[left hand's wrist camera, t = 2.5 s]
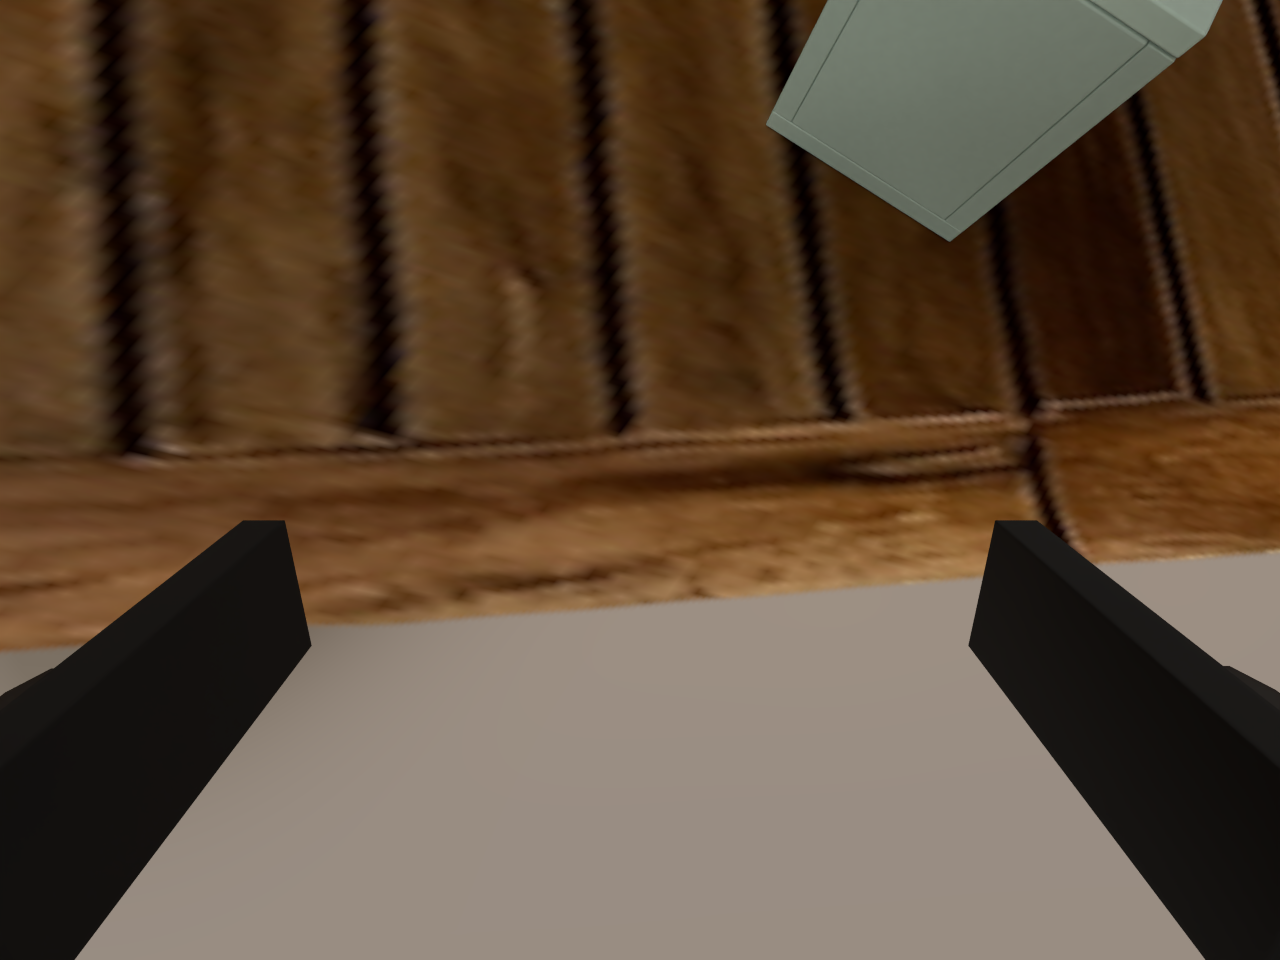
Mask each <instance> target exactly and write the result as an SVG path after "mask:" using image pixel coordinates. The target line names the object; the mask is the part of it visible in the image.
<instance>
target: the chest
mask: <svg viewBox="0 0 1280 960" xmlns="http://www.w3.org/2000/svg"><path fill="white" fill-rule="evenodd" d="M1175 59H1176V58H1175V57H1174V56H1172V55H1171V54H1169V53H1168V52H1166V51H1165V50H1163V49H1162V48H1160V47H1159V46H1157V45H1156V44H1154V43H1153V42H1151V41H1150V40H1148V39H1147V38H1145V37H1144V36H1142V35H1141V34H1139V33H1138V32H1136V31H1135V30H1133V29H1132V28H1130V27H1129V26H1128V25H1126V24H1125V23H1123V22H1122V21H1120V20H1119V19H1117V18H1116V17H1114V16H1113V15H1111V14H1110V13H1108V12H1107V11H1105V10H1104V9H1102V8H1101V7H1099V6H1098V5H1096V4H1095V3H1093V2H1092V1H1090V0H828V1H827V3H826V5H825V7H824V9H823V11H822V13H821V15H820V17H819V19H818V21H817V23H816V25H815V27H814V29H813V31H812V33H811V35H810V37H809V39H808V41H807V43H806V45H805V47H804V49H803V51H802V53H801V55H800V57H799V59H798V61H797V63H796V65H795V67H794V69H793V71H792V73H791V75H790V77H789V79H788V81H787V83H786V85H785V87H784V89H783V91H782V93H781V95H780V97H779V99H778V101H777V103H776V105H775V107H774V109H773V111H772V113H771V115H770V117H769V119H768V121H767V123H766V125H767V126H768V127H770V128H772V129H773V130H775V131H776V132H778V133H779V134H781V135H783V136H784V137H786V138H787V139H789V140H790V141H792V142H794V143H795V144H797V145H798V146H800V147H801V148H803V149H805V150H806V151H808V152H809V153H811V154H812V155H814V156H816V157H817V158H819V159H820V160H822V161H823V162H825V163H827V164H828V165H830V166H831V167H833V168H834V169H836V170H837V171H839V172H841V173H842V174H844V175H845V176H847V177H848V178H850V179H852V180H853V181H855V182H856V183H858V184H859V185H861V186H863V187H864V188H866V189H867V190H869V191H870V192H872V193H874V194H875V195H877V196H878V197H880V198H881V199H883V200H885V201H886V202H888V203H889V204H891V205H892V206H894V207H896V208H897V209H899V210H900V211H902V212H903V213H905V214H907V215H908V216H910V217H911V218H913V219H914V220H916V221H918V222H919V223H921V224H922V225H924V226H925V227H927V228H929V229H930V230H932V231H933V232H935V233H936V234H938V235H940V236H941V237H943V238H944V239H946V240H947V241H949V242H950V241H952V240H953V239H954V238H955V237H956V236H958V235H959V234H960V233H961V232H963V231H964V230H965V229H967V228H968V227H969V226H970V225H972V224H973V223H974V222H975V221H977V220H978V219H979V218H980V217H982V216H983V215H984V214H985V213H987V212H988V211H989V210H990V209H991V208H993V207H994V206H995V205H996V204H998V203H999V202H1000V201H1001V200H1003V199H1004V198H1005V197H1006V196H1008V195H1009V194H1010V193H1011V192H1013V191H1014V190H1015V189H1016V188H1018V187H1019V186H1020V185H1021V184H1023V183H1024V182H1025V181H1026V180H1028V179H1029V178H1030V177H1031V176H1033V175H1034V174H1035V173H1036V172H1038V171H1039V170H1040V169H1041V168H1043V167H1044V166H1045V165H1046V164H1048V163H1049V162H1050V161H1051V160H1052V159H1054V158H1055V157H1056V156H1057V155H1059V154H1060V153H1061V152H1062V151H1064V150H1065V149H1066V148H1067V147H1069V146H1070V145H1071V144H1072V143H1074V142H1075V141H1076V140H1077V139H1079V138H1080V137H1081V136H1082V135H1084V134H1085V133H1086V132H1087V131H1089V130H1090V129H1091V128H1092V127H1094V126H1095V125H1096V124H1097V123H1099V122H1100V121H1101V120H1102V119H1104V118H1105V117H1106V116H1107V115H1109V114H1110V113H1111V112H1112V111H1114V110H1115V109H1116V108H1117V107H1118V106H1120V105H1121V104H1122V103H1123V102H1125V101H1126V100H1127V99H1128V98H1130V97H1131V96H1132V95H1133V94H1135V93H1136V92H1137V91H1138V90H1140V89H1141V88H1142V87H1143V86H1145V85H1146V84H1147V83H1148V82H1150V81H1151V80H1152V79H1153V78H1155V77H1156V76H1157V75H1158V74H1160V73H1161V72H1162V71H1163V70H1165V69H1166V68H1167V67H1168V66H1170V65H1171V64H1172V63H1173V62H1174V61H1175Z"/></svg>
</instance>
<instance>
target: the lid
mask: <svg viewBox="0 0 1280 960" xmlns="http://www.w3.org/2000/svg"><path fill="white" fill-rule="evenodd" d="M1090 1H1092V2H1093V3H1095V4H1096V5H1098V6H1099V7H1101V8H1102V9H1104V10H1105V11H1107V12H1108V13H1110V14H1111V15H1113V16H1114V17H1116V18H1117V19H1119V20H1120V21H1122V22H1123V23H1125V24H1126V25H1128V26H1129V27H1130V28H1132V29H1133V30H1135V31H1136V32H1138V33H1139V34H1141V35H1142V36H1144V37H1145V38H1147V39H1148V40H1150V41H1151V42H1153V43H1154V44H1156V45H1157V46H1159V47H1160V48H1162V49H1163V50H1165V51H1166V52H1168V53H1169V54H1171V55H1172V56H1174V57H1175V58H1178V57H1180V56H1181V55H1182V54H1184V53H1185V52H1186V51H1187V50H1189V49H1190V48H1191V47H1192V46H1194V45H1195V44H1196V43H1197V42H1199V41H1200V40H1201V39H1202V38H1204V37H1205V36H1206V34H1207V33H1208V30H1209V28H1210V26H1211V24H1212V22H1213V20H1214V18H1215V16H1216V13H1217V11H1218V9H1219V7H1220V5H1221V3H1222V1H1223V0H1090Z"/></svg>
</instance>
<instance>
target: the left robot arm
mask: <svg viewBox="0 0 1280 960" xmlns="http://www.w3.org/2000/svg"><path fill="white" fill-rule="evenodd" d="M310 647H311V641H310V636H309V632H308V627H307V622H306V618H305V613H304V608H303V604H302V599H301V594H300V590H299V585H298V580H297V576H296V571H295V566H294V562H293V557H292V552H291V548H290V543H289V538H288V534H287V529H286V524H285V521H242V522H241V523H239V524H238V525H237V526H236V527H234V528H233V529H232V530H230V531H229V532H228V533H227V534H225V535H224V536H223V537H221V538H220V539H219V540H218V541H216V542H215V543H214V544H213V545H211V546H210V547H209V548H207V549H206V550H205V551H204V552H202V553H201V554H200V555H198V556H197V557H196V558H195V559H193V560H192V561H191V562H189V563H188V564H187V565H186V566H184V567H183V568H182V569H181V570H179V571H178V572H177V573H175V574H174V575H173V576H172V577H170V578H169V579H168V580H166V581H165V582H164V583H163V584H161V585H160V586H159V587H157V588H156V589H155V590H154V591H152V592H151V593H150V594H149V595H147V596H146V597H145V598H143V599H142V600H141V601H140V602H138V603H137V604H136V605H134V606H133V607H132V608H131V609H129V610H128V611H127V612H126V613H124V614H123V615H122V616H120V617H119V618H118V619H117V620H115V621H114V622H113V623H111V624H110V625H109V626H108V627H106V628H105V629H104V630H102V631H101V632H100V633H99V634H97V635H96V636H95V637H94V638H92V639H91V640H90V641H88V642H87V643H86V644H85V645H83V646H82V647H81V648H79V649H78V650H77V651H76V652H74V653H73V654H72V655H71V656H69V657H68V658H67V659H65V660H64V661H63V662H62V663H60V664H59V665H58V666H56V667H55V668H54V669H49V670H48V671H46V672H44V673H42V674H40V675H38V676H36V677H34V678H32V679H30V680H28V681H26V682H25V683H23V684H21V685H19V686H17V687H15V688H13V689H11V690H9V691H7V692H5V693H4V694H3V695H1V696H0V960H75V958H76V957H77V956H78V954H79V953H80V952H81V950H82V949H83V948H84V946H85V945H86V944H87V942H88V941H89V940H90V939H91V937H92V936H93V935H94V933H95V932H96V931H97V929H98V928H99V927H100V925H101V924H102V923H103V921H104V920H105V919H106V917H107V916H108V915H109V913H110V912H111V911H112V909H113V908H114V907H115V905H116V904H117V903H118V901H119V900H120V899H121V897H122V896H123V895H124V893H125V892H126V891H127V889H128V888H129V887H130V886H131V884H132V883H133V882H134V880H135V879H136V878H137V876H138V875H139V874H140V872H141V871H142V870H143V868H144V867H145V866H146V864H147V863H148V862H149V860H150V859H151V858H152V856H153V855H154V854H155V852H156V851H157V850H158V848H159V847H160V846H161V844H162V843H163V842H164V840H165V839H166V838H167V836H168V835H169V834H170V833H171V831H172V830H173V829H174V827H175V826H176V825H177V823H178V822H179V821H180V819H181V818H182V817H183V815H184V814H185V813H186V811H187V810H188V809H189V807H190V806H191V805H192V803H193V802H194V801H195V799H196V798H197V797H198V795H199V794H200V793H201V791H202V790H203V789H204V787H205V786H206V785H207V783H208V782H209V781H210V779H211V778H212V777H213V776H214V774H215V773H216V772H217V770H218V769H219V768H220V766H221V765H222V764H223V762H224V761H225V760H226V758H227V757H228V756H229V754H230V753H231V752H232V750H233V749H234V748H235V746H236V745H237V744H238V742H239V741H240V740H241V738H242V737H243V736H244V734H245V733H246V732H247V730H248V729H249V728H250V726H251V725H252V724H253V723H254V721H255V720H256V719H257V717H258V716H259V715H260V713H261V712H262V711H263V709H264V708H265V707H266V705H267V704H268V703H269V701H270V700H271V699H272V697H273V696H274V695H275V693H276V692H277V691H278V689H279V688H280V687H281V685H282V684H283V683H284V681H285V680H286V679H287V677H288V676H289V675H290V674H291V672H292V671H293V670H294V668H295V667H296V665H297V664H298V663H299V662H300V660H301V659H302V658H303V656H304V655H305V654H306V652H307V651H308V650H309V648H310ZM969 647H970V648H971V650H972V651H973V652H974V654H975V655H976V656H977V658H978V659H979V660H980V661H981V663H982V664H983V666H984V667H985V668H986V669H987V671H988V672H989V673H990V675H991V676H992V677H993V679H994V680H995V681H996V683H997V684H998V685H999V687H1000V688H1001V689H1002V691H1003V692H1004V693H1005V695H1006V696H1007V697H1008V699H1009V700H1010V701H1011V703H1012V704H1013V705H1014V707H1015V708H1016V709H1017V711H1018V712H1019V713H1020V715H1021V716H1022V717H1023V719H1024V720H1025V721H1026V723H1027V724H1028V725H1029V727H1030V728H1031V729H1032V730H1033V732H1034V733H1035V734H1036V736H1037V737H1038V738H1039V740H1040V741H1041V742H1042V744H1043V745H1044V746H1045V748H1046V749H1047V750H1048V752H1049V753H1050V754H1051V756H1052V757H1053V758H1054V760H1055V761H1056V762H1057V764H1058V765H1059V766H1060V767H1061V769H1062V770H1063V772H1064V773H1065V774H1066V775H1067V777H1068V778H1069V780H1070V781H1071V782H1072V783H1073V785H1074V786H1075V787H1076V789H1077V790H1078V791H1079V793H1080V794H1081V795H1082V797H1083V798H1084V799H1085V801H1086V802H1087V803H1088V805H1089V806H1090V807H1091V809H1092V810H1093V811H1094V813H1095V814H1096V815H1097V817H1098V818H1099V819H1100V820H1101V822H1102V823H1103V824H1104V826H1105V827H1106V828H1107V830H1108V831H1109V833H1110V834H1111V835H1112V836H1113V838H1114V839H1115V840H1116V842H1117V843H1118V844H1119V846H1120V847H1121V848H1122V850H1123V851H1124V852H1125V854H1126V855H1127V856H1128V858H1129V859H1130V860H1131V862H1132V863H1133V864H1134V866H1135V867H1136V868H1137V870H1138V871H1139V872H1140V874H1141V875H1142V876H1143V878H1144V879H1145V880H1146V882H1147V883H1148V884H1149V885H1150V887H1151V888H1152V889H1153V891H1154V892H1155V893H1156V895H1157V896H1158V897H1159V899H1160V900H1161V901H1162V903H1163V904H1164V905H1165V907H1166V908H1167V909H1168V911H1169V912H1170V913H1171V915H1172V916H1173V917H1174V919H1175V920H1176V921H1177V923H1178V924H1179V925H1180V927H1181V928H1182V929H1183V931H1184V932H1185V933H1186V935H1187V936H1188V937H1189V939H1190V940H1191V941H1192V942H1193V944H1194V945H1195V946H1196V948H1197V949H1198V950H1199V952H1200V953H1201V954H1202V956H1203V957H1204V958H1205V960H1280V693H1279V692H1278V691H1276V690H1275V689H1273V688H1271V687H1269V686H1267V685H1265V684H1263V683H1261V682H1259V681H1257V680H1255V679H1253V678H1252V677H1250V676H1248V675H1246V674H1244V673H1242V672H1240V671H1238V670H1236V669H1234V668H1232V667H1230V666H1222V665H1221V664H1220V663H1218V662H1217V661H1216V660H1215V659H1213V658H1212V657H1211V656H1209V655H1208V654H1207V653H1206V652H1204V651H1203V650H1202V649H1201V648H1199V647H1198V646H1197V645H1195V644H1194V643H1193V642H1191V641H1190V640H1189V639H1188V638H1186V637H1185V636H1184V635H1183V634H1181V633H1180V632H1179V631H1178V630H1176V629H1175V628H1174V627H1172V626H1171V625H1170V624H1168V623H1167V622H1166V621H1165V620H1163V619H1162V618H1161V617H1160V616H1158V615H1157V614H1156V613H1154V612H1153V611H1152V610H1151V609H1149V608H1148V607H1147V606H1145V605H1144V604H1143V603H1142V602H1140V601H1139V600H1138V599H1137V598H1135V597H1134V596H1133V595H1131V594H1130V593H1129V592H1128V591H1126V590H1125V589H1124V588H1123V587H1121V586H1120V585H1119V584H1117V583H1116V582H1115V581H1113V580H1112V579H1111V578H1110V577H1108V576H1107V575H1106V574H1105V573H1103V572H1102V571H1101V570H1099V569H1098V568H1097V567H1096V566H1094V565H1093V564H1092V563H1091V562H1089V561H1088V560H1087V559H1085V558H1084V557H1083V556H1082V555H1080V554H1079V553H1078V552H1076V551H1075V550H1074V549H1073V548H1071V547H1070V546H1069V545H1067V544H1066V543H1065V542H1064V541H1062V540H1061V539H1060V538H1059V537H1057V536H1056V535H1055V534H1053V533H1052V532H1051V531H1050V530H1048V529H1047V528H1046V527H1044V526H1043V525H1042V524H1041V523H1039V522H1038V521H995V524H994V529H993V534H992V538H991V543H990V548H989V552H988V557H987V562H986V566H985V571H984V576H983V580H982V585H981V590H980V594H979V599H978V604H977V608H976V613H975V618H974V622H973V627H972V632H971V636H970V641H969Z"/></svg>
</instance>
